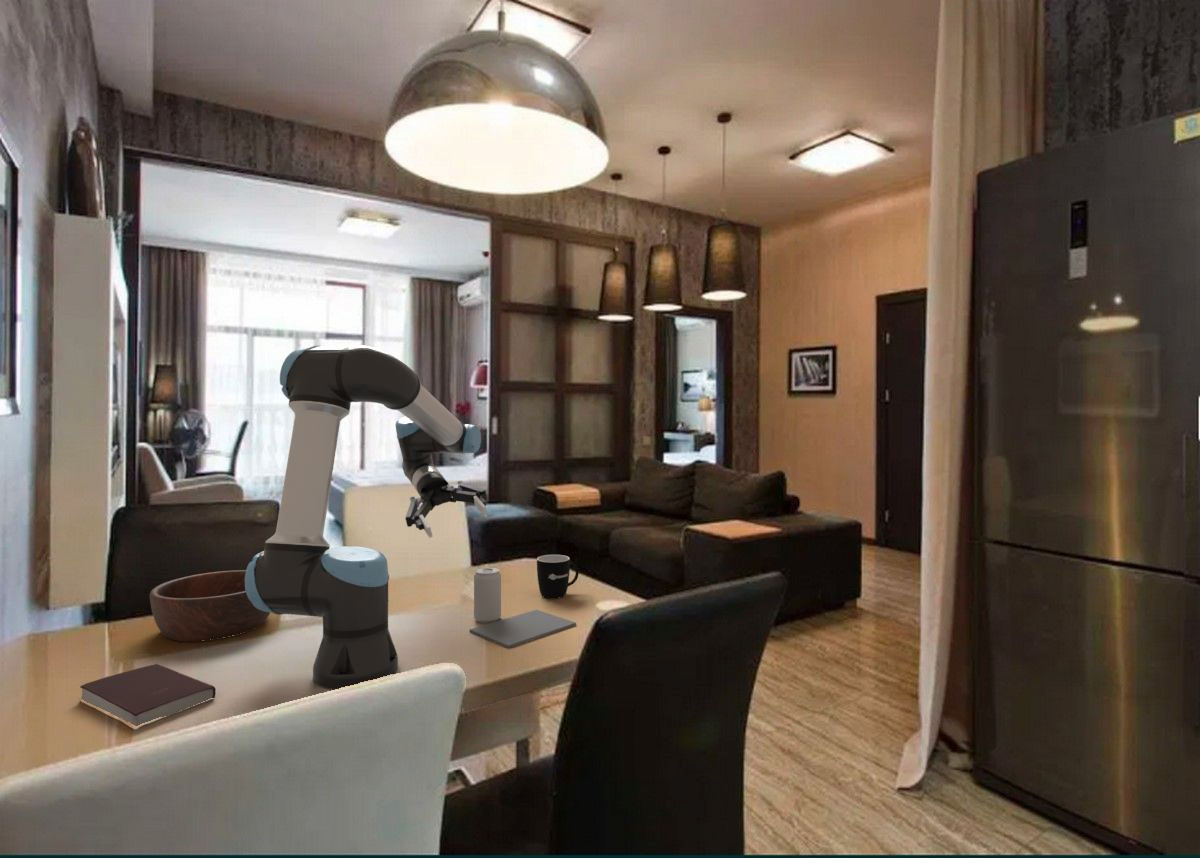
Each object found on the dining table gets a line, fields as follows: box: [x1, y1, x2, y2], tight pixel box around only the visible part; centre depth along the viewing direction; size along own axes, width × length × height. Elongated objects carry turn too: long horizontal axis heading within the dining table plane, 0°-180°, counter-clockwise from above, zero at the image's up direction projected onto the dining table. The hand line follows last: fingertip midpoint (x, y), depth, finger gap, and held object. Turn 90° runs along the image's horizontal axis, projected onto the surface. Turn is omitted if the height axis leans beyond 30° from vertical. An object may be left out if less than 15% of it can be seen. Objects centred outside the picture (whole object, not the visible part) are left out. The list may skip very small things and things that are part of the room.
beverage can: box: [473, 567, 502, 624], centre depth 152 cm, size 6×6×12 cm
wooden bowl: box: [149, 569, 271, 642], centre depth 146 cm, size 25×25×10 cm
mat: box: [469, 609, 577, 649], centre depth 146 cm, size 20×14×1 cm
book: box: [80, 663, 217, 726], centre depth 110 cm, size 12×19×3 cm, turn 60°
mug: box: [536, 554, 580, 599], centre depth 173 cm, size 12×9×10 cm
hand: (458, 522), depth 148 cm, fingers open, 13 cm apart
